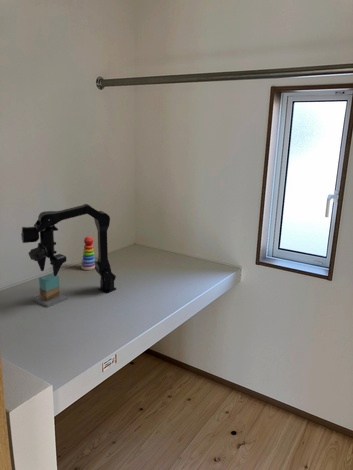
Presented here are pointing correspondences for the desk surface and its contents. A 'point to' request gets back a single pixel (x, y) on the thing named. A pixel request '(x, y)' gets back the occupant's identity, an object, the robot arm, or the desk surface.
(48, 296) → the walnut brick
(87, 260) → the stacking toy
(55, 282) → the teal brick
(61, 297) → the baseplate
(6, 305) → the desk surface
